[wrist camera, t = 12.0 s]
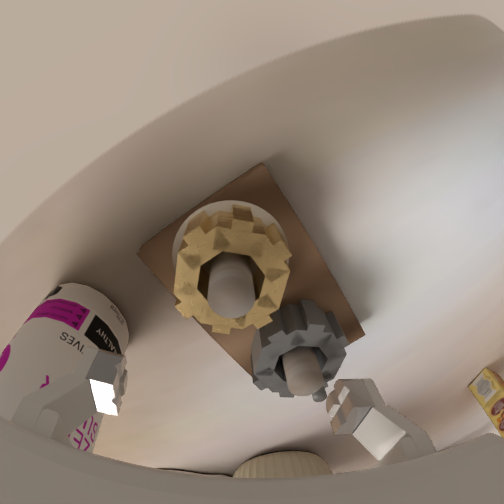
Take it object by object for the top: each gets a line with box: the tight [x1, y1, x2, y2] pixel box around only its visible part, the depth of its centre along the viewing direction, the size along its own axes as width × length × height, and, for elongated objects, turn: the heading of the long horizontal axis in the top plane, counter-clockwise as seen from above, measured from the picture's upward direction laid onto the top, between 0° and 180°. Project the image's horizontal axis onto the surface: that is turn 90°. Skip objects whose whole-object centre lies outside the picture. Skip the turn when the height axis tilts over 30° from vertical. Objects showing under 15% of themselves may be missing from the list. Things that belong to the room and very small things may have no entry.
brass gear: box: [174, 204, 292, 334], centre depth 18 cm, size 7×7×3 cm
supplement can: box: [0, 283, 129, 453], centre depth 16 cm, size 8×8×15 cm
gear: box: [250, 299, 350, 402], centre depth 21 cm, size 7×7×5 cm
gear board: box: [137, 162, 365, 396], centre depth 20 cm, size 16×10×6 cm, turn 33°
